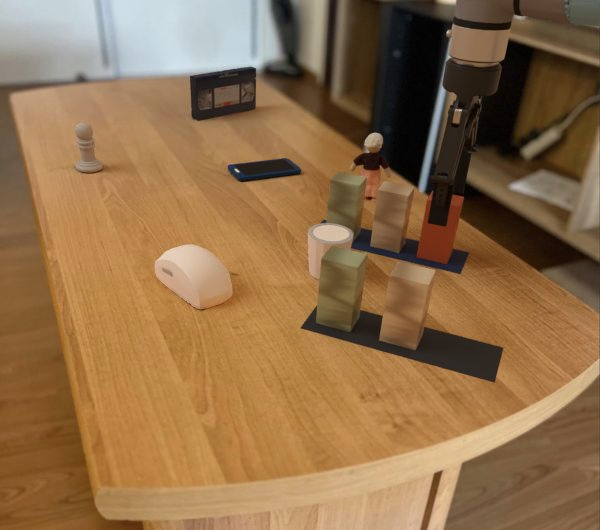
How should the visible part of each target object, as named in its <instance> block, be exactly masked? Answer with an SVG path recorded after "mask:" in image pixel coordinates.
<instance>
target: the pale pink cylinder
mask: <svg viewBox="0 0 600 530" xmlns="http://www.w3.org/2000/svg"><path fill="white" fill-rule="evenodd" d="M320 223H321V222H320ZM320 223H317V224H314V225H312V226H310V227H309V228H308V230H307V237H308V238H307V250H308V252H307V253H308V255H307V256H308V257H307V258H308V272H309V274H310V275H311V276H312V277H313V278H314V279H317V280H319V279H320V267H321V258H322V257H323V256H324V255H325V253H326V252H327V251H328V250H329V248H330V247H331V246H336V247H340V248H344V249H348V250H352V248H351V245H352V240H353V235H354V233H353V232H352V231H351V230H350V229H349V228H347V227H345V226H342V225H339V224H333V223H321V224H320Z"/></svg>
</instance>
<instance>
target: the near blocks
mask: <svg viewBox="0 0 600 530" xmlns="http://www.w3.org/2000/svg"><path fill="white" fill-rule="evenodd" d="M368 255H369V254H368V253H366V252H362V251H358V250H354V249H351V250H348V249H344V248H340V247H336V246H331V247H330V248H329V250H328V251H327V252H326V253H325V255H324V256H323V257H322V258H321V267H320V279H318V294H317V304H316V306H317V316H316V323H318V324H321V325H325V326H328V327H332V328H336V329H339V330H343V331H347V332H351V331H352V329H353V327H354V326H355V324H356V322H357V321H358V319H359V317H360V310H362V309H361V307H362V301H363V292H364V285H365V277H366V272H367V264H368ZM436 273H437V270H436V269H434V268H430V267H426V266H421V265H417V264H413V263H409V262H404V261H400V260H398V261H397V262H396V264H395V265H394V267H393V268H392V270H391V272H390V273H389V275H388V282H387V287H386V293H385V300H384V307H383V313H382V316H383V319H382V325H381V331H380V338H379V341H383V342H386V343H390V344H394V345H397V346H401V347H405V348H408V349H412V350H416V349H417V346H418V344H419V342H420V340H421V337H422V335H423V331H424V327H426V321H427V316H428V310H429V307H430V302H431V297H432V294H433V293H432V292H433V288H434V283H435V278H436Z"/></svg>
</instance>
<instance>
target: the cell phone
mask: <svg viewBox="0 0 600 530" xmlns="http://www.w3.org/2000/svg"><path fill="white" fill-rule="evenodd" d="M227 170H228V171H229V172H230V173H231V174H232V175H233V176H234V177H235V179H237V180H238V181H240V182H244V181H252V180H261V179H269V178H276V177H277V178H278V177H284V176H291V175H299V174H301V173H302V169H301V167H300V166H298V165H297V164H296V163H295V162H294V161H292V160H291V159H289V158H287V157H282V158H274V159H266V160H257V161H249V162H240V163H239V162H238V163H231V164H228V165H227Z"/></svg>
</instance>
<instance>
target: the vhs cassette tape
mask: <svg viewBox="0 0 600 530" xmlns="http://www.w3.org/2000/svg"><path fill="white" fill-rule="evenodd" d="M256 78H257V67H254V66H243V67H236V68H231V69H224V70H218V71H211V72H205V73H200V74H199V73H198V74H194V75H189V86H190V88H189V90H190V109H191V111H190V114H191V118H192V119H193V120H196V121H203V120H208V119H213V118H217V117H218V118H219V117H223V116H228V115H234V114H239V113H243V112H247V111H252V110H256V108H257V79H256Z"/></svg>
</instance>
